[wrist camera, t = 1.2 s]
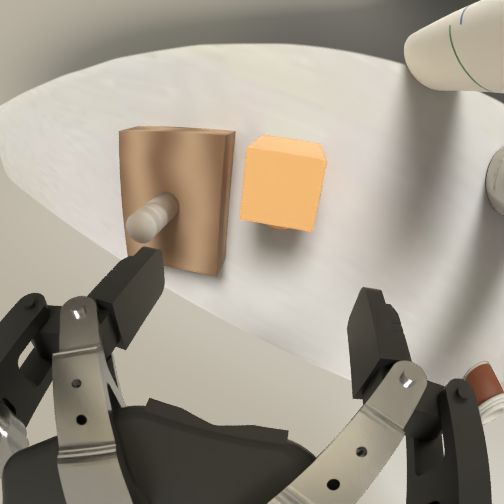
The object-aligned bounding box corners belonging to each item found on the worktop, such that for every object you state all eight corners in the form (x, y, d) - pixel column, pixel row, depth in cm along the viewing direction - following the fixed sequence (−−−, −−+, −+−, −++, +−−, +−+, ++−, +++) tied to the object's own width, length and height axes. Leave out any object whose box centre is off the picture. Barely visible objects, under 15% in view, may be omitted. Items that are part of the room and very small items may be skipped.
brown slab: (235, 131, 28) (204, 145, 20) (224, 258, 36) (200, 309, 28) (137, 126, 29) (83, 141, 21) (142, 242, 38) (103, 284, 29)
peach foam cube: (263, 134, 28) (246, 147, 20) (320, 143, 27) (327, 160, 20) (254, 212, 33) (236, 250, 25) (305, 221, 32) (305, 263, 24)
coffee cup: (453, 387, 43) (464, 432, 33) (469, 360, 39) (486, 409, 29) (483, 379, 41) (497, 422, 31) (500, 353, 37) (519, 397, 27)
